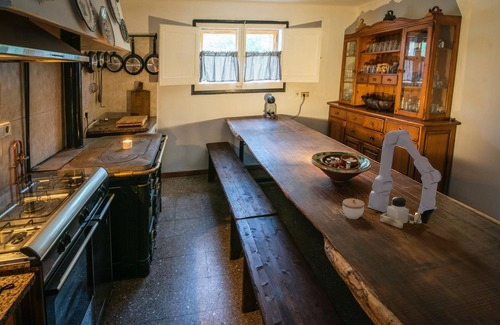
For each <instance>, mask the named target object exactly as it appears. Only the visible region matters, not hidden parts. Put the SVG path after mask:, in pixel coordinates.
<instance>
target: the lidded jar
mask: <svg viewBox="0 0 500 325" xmlns="http://www.w3.org/2000/svg"><path fill="white" fill-rule="evenodd" d="M342 211H343V214H344V215H345V217H346V218H348V219H349V220H357V219H358V220H359V218H361V217H362V216H363V214H364V211H365V202H364V201H363V200H361V199H357V198H345V199H343V201H342Z"/></svg>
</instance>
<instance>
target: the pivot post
mask: <svg viewBox="0 0 500 325" xmlns="http://www.w3.org/2000/svg"><path fill="white" fill-rule="evenodd" d="M413 224H421V225H422V224H423V223H422V221H421V218H418V219H417V220H416V221H415V222H414V223H413Z"/></svg>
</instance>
